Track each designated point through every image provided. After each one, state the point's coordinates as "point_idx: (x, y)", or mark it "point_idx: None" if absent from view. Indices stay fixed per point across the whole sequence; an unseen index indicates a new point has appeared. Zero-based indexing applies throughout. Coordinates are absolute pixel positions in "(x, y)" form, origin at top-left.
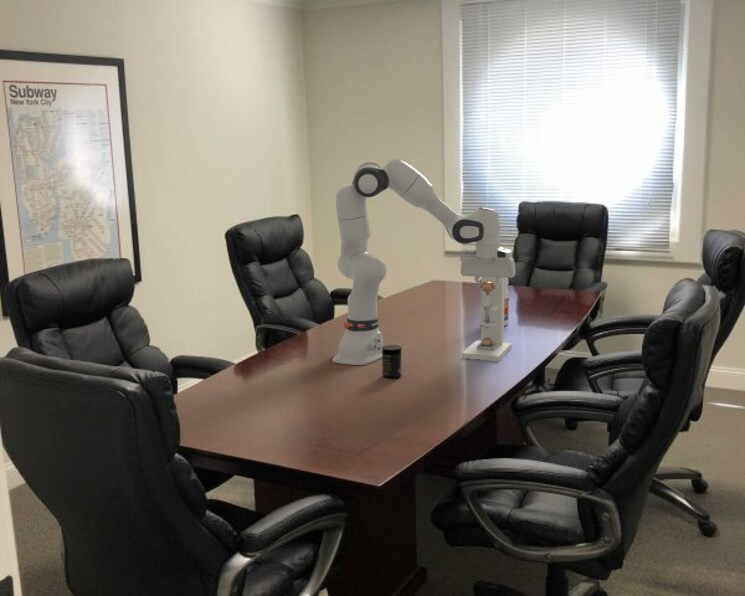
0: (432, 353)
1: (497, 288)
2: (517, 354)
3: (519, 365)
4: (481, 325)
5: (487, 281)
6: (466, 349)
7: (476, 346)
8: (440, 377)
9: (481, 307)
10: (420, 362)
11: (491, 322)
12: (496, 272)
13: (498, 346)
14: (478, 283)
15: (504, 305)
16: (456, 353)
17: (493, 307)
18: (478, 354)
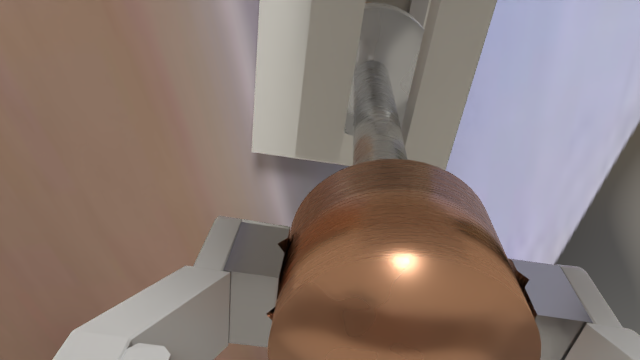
0: (95, 77)
1: (572, 274)
2: (536, 20)
3: (519, 206)
4: None
5: (391, 291)
6: (258, 81)
7: (299, 4)
8: (243, 353)
9: (316, 159)
10: (111, 219)
11: (405, 85)
12: None
13: None
14: (212, 346)
15: None
16: (208, 57)
17: (442, 142)
18: (334, 163)
